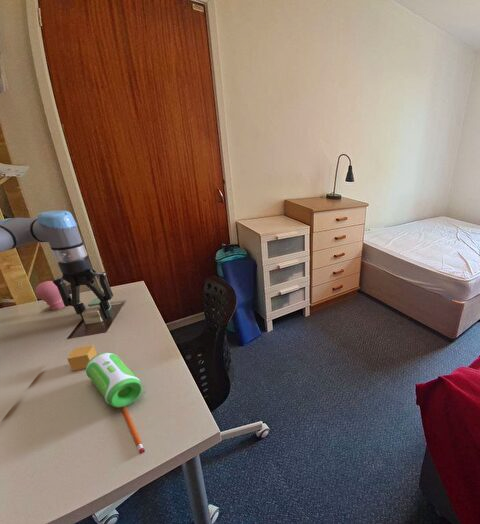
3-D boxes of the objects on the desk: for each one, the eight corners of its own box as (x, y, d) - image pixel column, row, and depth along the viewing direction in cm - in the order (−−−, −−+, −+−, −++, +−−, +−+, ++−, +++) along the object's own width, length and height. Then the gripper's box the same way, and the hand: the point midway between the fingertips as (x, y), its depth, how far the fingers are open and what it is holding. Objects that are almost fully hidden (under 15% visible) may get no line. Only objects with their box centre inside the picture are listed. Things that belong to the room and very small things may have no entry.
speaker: (88, 381, 76) (79, 360, 73) (120, 366, 81) (113, 345, 78) (113, 416, 67) (103, 393, 64) (147, 396, 72) (140, 373, 69)
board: (61, 342, 90) (59, 340, 89) (87, 310, 107) (86, 308, 106) (107, 334, 94) (106, 332, 94) (125, 305, 111) (124, 303, 111)
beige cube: (90, 317, 101) (86, 306, 99) (106, 315, 103) (102, 304, 101) (85, 324, 97) (81, 313, 95) (101, 321, 99) (97, 311, 97)
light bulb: (43, 310, 106) (30, 282, 101) (69, 303, 111) (58, 276, 106) (45, 317, 102) (32, 288, 97) (72, 309, 107) (60, 281, 102)
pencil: (140, 454, 59) (139, 452, 59) (118, 403, 70) (117, 400, 70) (145, 451, 60) (144, 449, 59) (122, 400, 71) (121, 398, 71)
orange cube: (72, 371, 79) (66, 358, 77) (79, 360, 83) (74, 348, 81) (92, 367, 81) (87, 354, 79) (98, 356, 85) (93, 344, 83)
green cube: (91, 315, 102) (87, 304, 101) (96, 309, 106) (92, 298, 104) (107, 313, 104) (103, 302, 102) (111, 306, 108) (107, 296, 106)
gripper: (28, 267, 84) (58, 330, 94) (103, 259, 91) (125, 319, 100) (42, 258, 91) (69, 318, 100) (111, 251, 97) (131, 308, 106)
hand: (97, 318), depth 100 cm, fingers open, 5 cm apart
